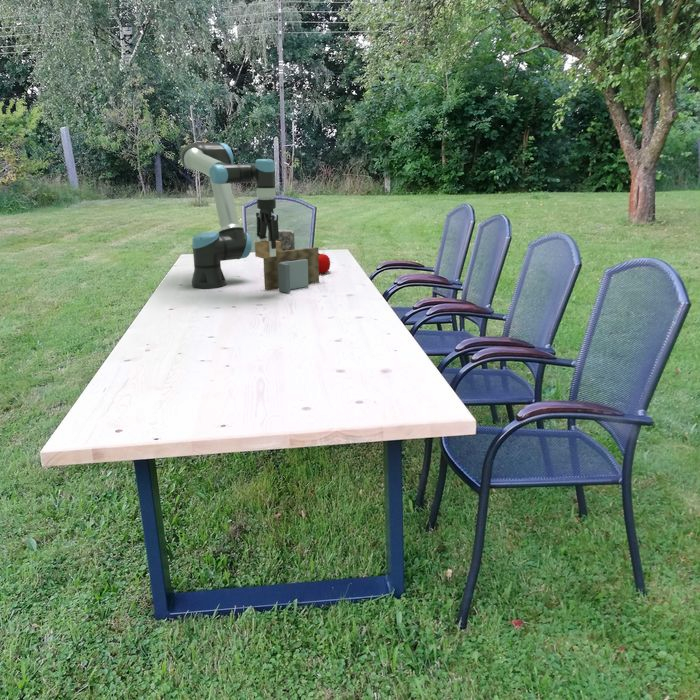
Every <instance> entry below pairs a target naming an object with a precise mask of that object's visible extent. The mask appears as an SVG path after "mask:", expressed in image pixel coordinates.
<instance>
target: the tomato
mask: <svg viewBox="0 0 700 700" xmlns="http://www.w3.org/2000/svg"><path fill="white" fill-rule="evenodd" d="M330 267H331V259H330V257H329V256H328V255H327V254H325V253H324V252H322V253H319V275H321V274H326V273H327V272H328V271H330Z"/></svg>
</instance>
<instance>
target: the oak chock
mask: <svg viewBox="0 0 700 700" xmlns="http://www.w3.org/2000/svg"><path fill="white" fill-rule="evenodd" d="M254 253H255V258H256V257H257V258H260V259H263V258H270V255H269V241H268V240H267V241H254ZM278 256H281V242H280V241H276V256H274V257H278Z"/></svg>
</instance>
